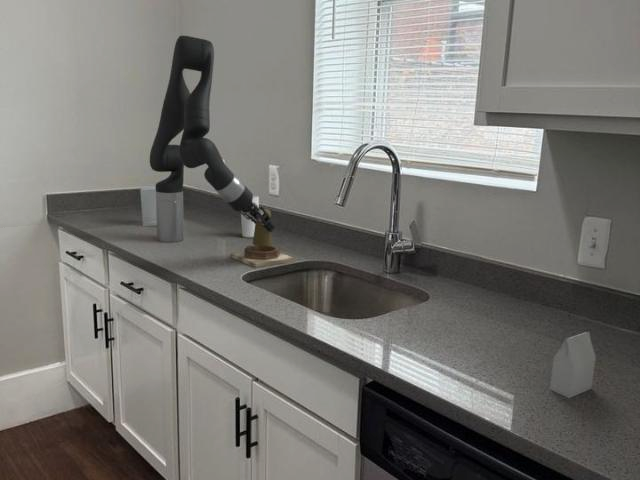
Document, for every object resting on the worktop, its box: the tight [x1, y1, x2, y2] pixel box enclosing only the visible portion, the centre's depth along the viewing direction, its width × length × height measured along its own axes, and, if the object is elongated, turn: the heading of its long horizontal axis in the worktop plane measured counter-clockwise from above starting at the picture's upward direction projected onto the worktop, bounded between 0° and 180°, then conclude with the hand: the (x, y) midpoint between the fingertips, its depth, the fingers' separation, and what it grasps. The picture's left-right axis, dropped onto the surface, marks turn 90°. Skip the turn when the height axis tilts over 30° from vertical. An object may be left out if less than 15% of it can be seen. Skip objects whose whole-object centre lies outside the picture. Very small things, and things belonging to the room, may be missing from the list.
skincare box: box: [139, 186, 157, 227], centre depth 228 cm, size 8×6×15 cm
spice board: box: [230, 244, 295, 269], centre depth 182 cm, size 15×14×4 cm
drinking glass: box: [240, 195, 260, 239], centre depth 213 cm, size 7×7×15 cm
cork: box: [252, 208, 273, 246], centre depth 180 cm, size 6×6×11 cm
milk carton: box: [549, 331, 597, 399], centre depth 101 cm, size 4×7×10 cm, turn 125°
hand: (267, 228), depth 182 cm, fingers closed on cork, 4 cm apart
